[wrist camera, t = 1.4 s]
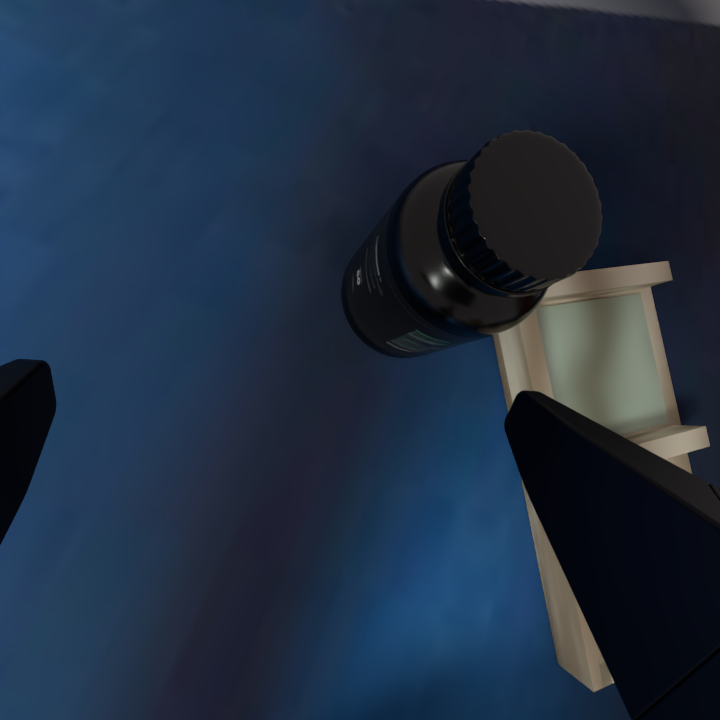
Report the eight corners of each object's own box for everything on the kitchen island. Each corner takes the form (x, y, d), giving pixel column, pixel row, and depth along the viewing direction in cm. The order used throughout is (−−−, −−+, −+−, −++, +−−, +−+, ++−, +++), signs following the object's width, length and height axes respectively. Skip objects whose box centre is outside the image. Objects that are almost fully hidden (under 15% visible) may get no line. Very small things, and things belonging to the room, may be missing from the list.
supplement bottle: (350, 225, 24) (452, 63, 13) (460, 257, 26) (637, 137, 15) (328, 345, 23) (419, 283, 12) (445, 370, 25) (623, 337, 14)
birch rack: (638, 272, 30) (675, 260, 27) (710, 598, 28) (756, 617, 26) (484, 291, 26) (510, 279, 24) (558, 664, 25) (593, 692, 23)
